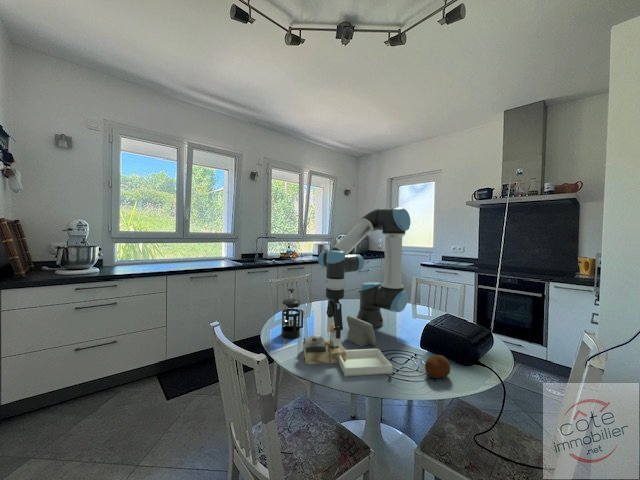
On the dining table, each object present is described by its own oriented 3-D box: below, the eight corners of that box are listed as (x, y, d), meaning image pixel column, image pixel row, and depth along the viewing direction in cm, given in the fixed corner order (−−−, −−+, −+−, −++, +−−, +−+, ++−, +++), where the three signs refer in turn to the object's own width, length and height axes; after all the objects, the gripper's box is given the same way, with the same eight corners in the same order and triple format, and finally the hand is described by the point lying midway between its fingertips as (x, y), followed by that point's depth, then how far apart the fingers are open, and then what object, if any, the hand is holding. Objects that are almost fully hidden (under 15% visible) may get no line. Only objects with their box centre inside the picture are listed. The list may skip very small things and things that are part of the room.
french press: (284, 340, 123) (285, 292, 122) (276, 333, 131) (277, 288, 130) (306, 336, 129) (307, 289, 128) (298, 329, 137) (299, 286, 136)
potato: (419, 376, 96) (419, 356, 96) (431, 366, 104) (432, 347, 104) (442, 386, 90) (444, 365, 90) (454, 374, 98) (454, 355, 98)
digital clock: (378, 346, 120) (378, 323, 120) (361, 350, 116) (362, 326, 116) (358, 333, 135) (358, 313, 134) (342, 336, 131) (343, 315, 130)
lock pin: (335, 353, 112) (336, 325, 111) (337, 357, 109) (338, 328, 108) (328, 354, 111) (329, 326, 111) (330, 357, 108) (331, 328, 108)
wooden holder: (338, 348, 117) (339, 331, 116) (345, 362, 105) (346, 343, 105) (302, 350, 114) (303, 333, 114) (305, 364, 102) (306, 345, 102)
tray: (377, 355, 111) (378, 348, 111) (392, 373, 98) (392, 365, 97) (336, 357, 108) (336, 350, 108) (345, 376, 95) (345, 368, 94)
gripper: (321, 282, 121) (319, 327, 122) (332, 295, 96) (330, 352, 97) (337, 281, 122) (335, 327, 123) (352, 295, 97) (350, 351, 98)
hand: (333, 338), depth 110 cm, fingers open, 13 cm apart
